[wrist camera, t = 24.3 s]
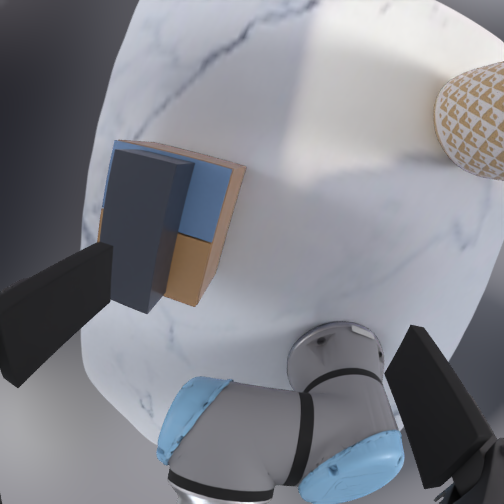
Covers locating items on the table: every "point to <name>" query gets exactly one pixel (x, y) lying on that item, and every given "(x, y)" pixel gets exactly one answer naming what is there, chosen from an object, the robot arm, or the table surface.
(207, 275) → the carton
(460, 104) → the vase
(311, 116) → the table surface
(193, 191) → the flap
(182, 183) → the case
